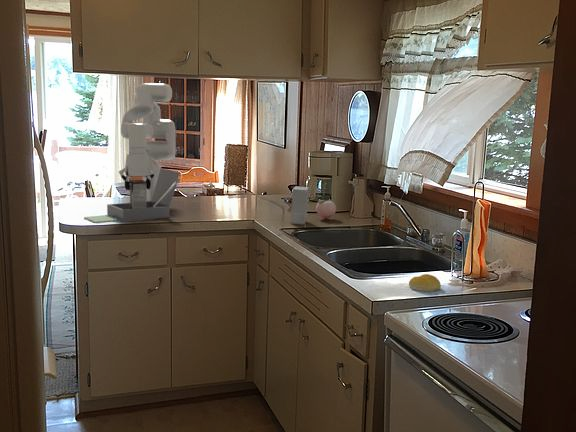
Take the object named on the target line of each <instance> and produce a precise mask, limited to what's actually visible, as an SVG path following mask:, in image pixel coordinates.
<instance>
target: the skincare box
mask: <svg viewBox="0 0 576 432" xmlns="http://www.w3.org/2000/svg"><path fill="white" fill-rule="evenodd" d="M309 188H310V187H308V186H300V185H299V186H297V185H295V186H294V187H293V188H292V193H291V194H292V197H291V208H290V209H291V210H290V211H291V212H290V224H291V225H292V224H294V225H305V223H306V222H307V214H308V203H309V202H308V200H309V190H310V189H309Z"/></svg>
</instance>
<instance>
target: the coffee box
mask: <svg viewBox="0 0 576 432" xmlns="http://www.w3.org/2000/svg"><path fill="white" fill-rule="evenodd" d="M129 182H130V190H129V201H130V202H129V203H130V209H140V208H147V191H146V182H145V181H144V180H143V179H129Z"/></svg>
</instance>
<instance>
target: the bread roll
mask: <svg viewBox="0 0 576 432" xmlns="http://www.w3.org/2000/svg"><path fill="white" fill-rule="evenodd" d="M408 286H409V287H410V288H411V289H412V290H413V291H416V292H422V293H423V292H425V293H430V292H431V293H432V292H436V291H438V290H440V288H441V287H442V285H441V282H440V280H439V278H437V277H436V276H435V275H432V274H429V273H424V274H421V275H418V276H414V277H412V278H411V279H410V280H409V281H408Z"/></svg>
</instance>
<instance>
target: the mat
mask: <svg viewBox="0 0 576 432" xmlns="http://www.w3.org/2000/svg"><path fill="white" fill-rule="evenodd" d="M83 218H84V219H85V220H87V221H90V222H91V223H94V224H101V223H112V222H111V221H113V222H118V221H119V220H118V219H115V218H113V217H110V216H108V215H107V214H104V215H93V216H84V217H83Z"/></svg>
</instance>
